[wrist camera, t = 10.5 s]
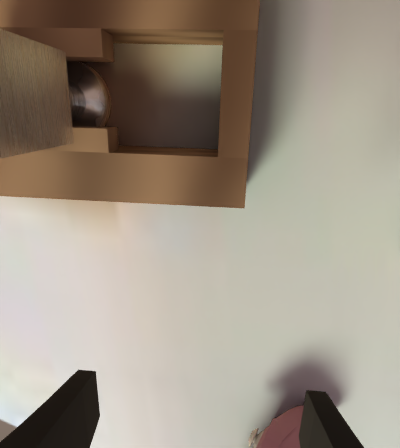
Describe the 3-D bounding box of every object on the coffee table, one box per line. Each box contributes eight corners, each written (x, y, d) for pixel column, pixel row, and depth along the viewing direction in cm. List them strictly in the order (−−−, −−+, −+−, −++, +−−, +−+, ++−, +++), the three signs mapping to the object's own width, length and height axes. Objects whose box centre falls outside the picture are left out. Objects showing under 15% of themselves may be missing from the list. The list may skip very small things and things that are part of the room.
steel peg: (108, 61, 17) (-20, 10, 8) (112, 139, 19) (6, 166, 10) (36, 60, 18) (-162, 9, 9) (45, 136, 19) (-119, 160, 10)
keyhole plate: (256, -11, 16) (263, -41, 13) (242, 192, 19) (244, 208, 16) (-20, -12, 17) (-77, -40, 14) (11, 181, 20) (-29, 194, 17)
